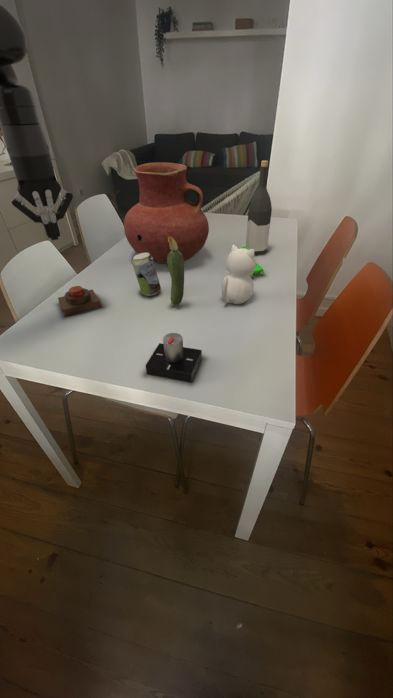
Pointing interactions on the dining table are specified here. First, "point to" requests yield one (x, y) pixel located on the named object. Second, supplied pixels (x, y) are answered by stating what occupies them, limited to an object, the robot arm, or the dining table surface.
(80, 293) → the button
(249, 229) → the wine bottle
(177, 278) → the vegetable
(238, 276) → the cat figurine
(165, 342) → the hob knob
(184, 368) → the panel
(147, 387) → the dining table surface
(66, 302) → the button block
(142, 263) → the beverage can
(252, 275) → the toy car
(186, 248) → the clay pot
